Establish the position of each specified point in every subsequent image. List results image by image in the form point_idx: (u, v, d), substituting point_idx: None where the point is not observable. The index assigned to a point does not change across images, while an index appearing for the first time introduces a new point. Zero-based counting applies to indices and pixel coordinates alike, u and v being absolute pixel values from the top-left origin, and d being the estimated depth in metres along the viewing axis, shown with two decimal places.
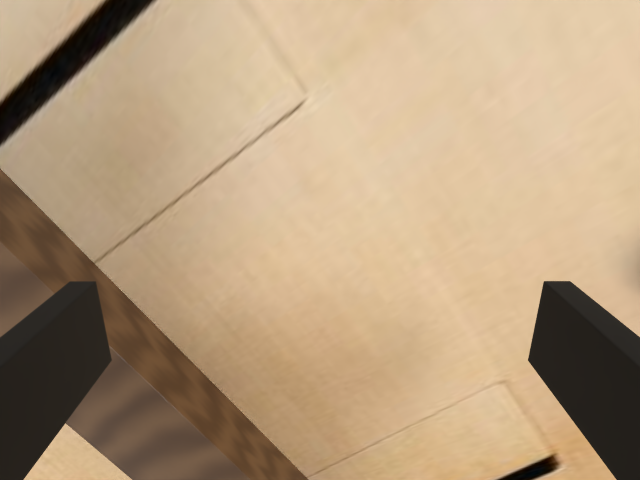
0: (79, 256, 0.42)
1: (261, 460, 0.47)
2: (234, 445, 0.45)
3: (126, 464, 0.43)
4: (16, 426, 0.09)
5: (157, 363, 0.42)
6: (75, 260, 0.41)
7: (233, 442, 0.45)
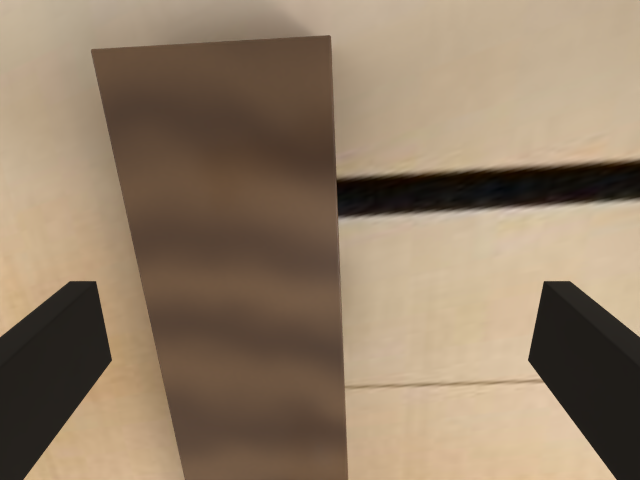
0: None
1: None
2: None
3: None
4: (16, 427, 0.09)
5: None
6: None
7: None
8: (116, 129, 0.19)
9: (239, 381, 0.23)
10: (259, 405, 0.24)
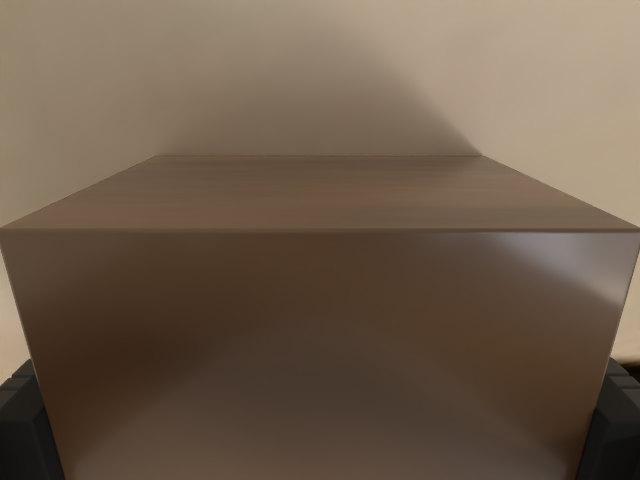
0: None
1: None
2: None
3: None
4: None
5: None
6: None
7: None
8: (61, 402, 0.08)
9: None
10: None
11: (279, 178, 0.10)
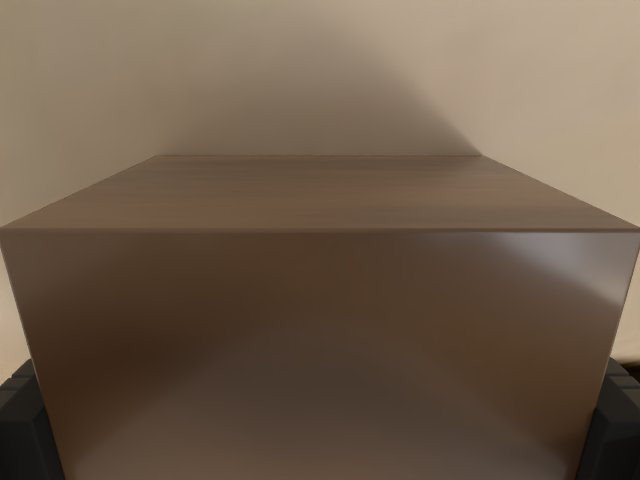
0: None
1: None
2: None
3: None
4: None
5: None
6: None
7: None
8: (62, 402, 0.08)
9: None
10: None
11: (279, 178, 0.10)
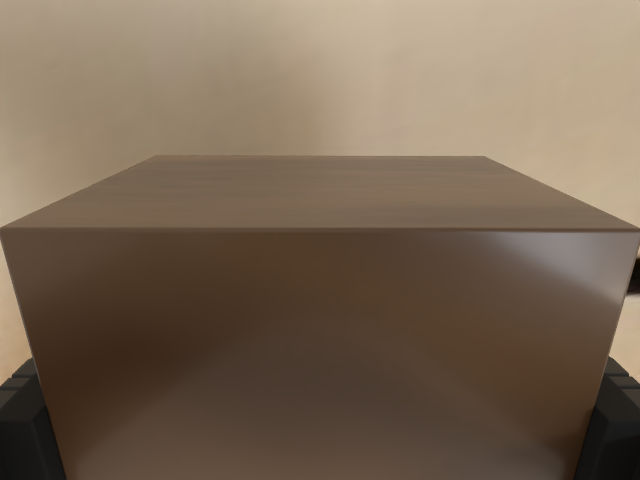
0: None
1: None
2: None
3: None
4: None
5: None
6: None
7: None
8: (62, 400, 0.08)
9: None
10: None
11: (280, 178, 0.10)
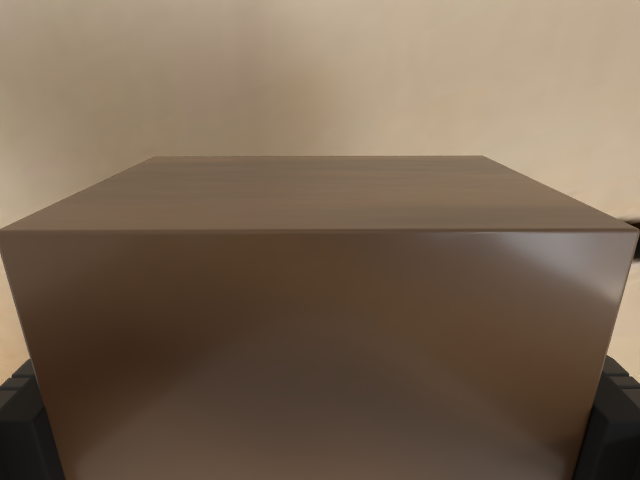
0: None
1: None
2: None
3: None
4: None
5: None
6: None
7: None
8: (61, 402, 0.08)
9: None
10: None
11: (277, 178, 0.10)
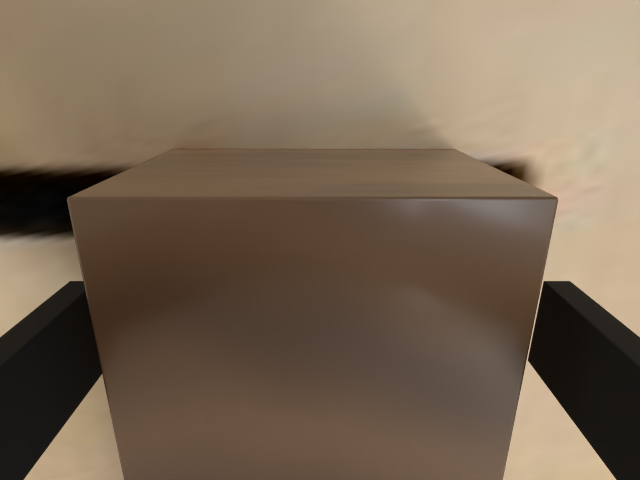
0: None
1: None
2: None
3: None
4: (16, 426, 0.09)
5: None
6: None
7: None
8: (110, 338, 0.10)
9: None
10: None
11: (280, 165, 0.12)
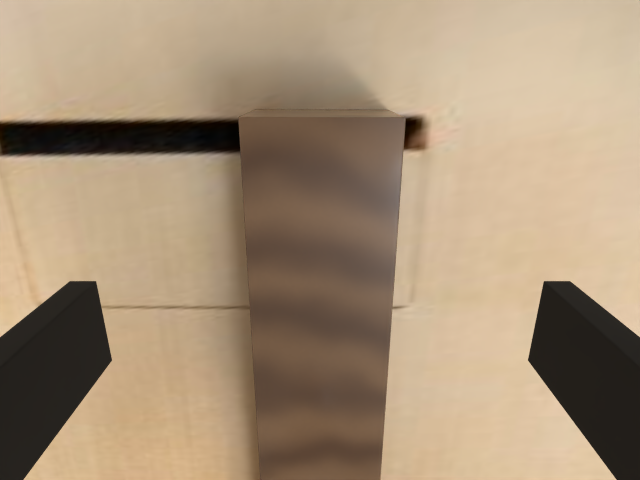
0: None
1: None
2: None
3: None
4: (16, 426, 0.09)
5: None
6: None
7: None
8: (247, 171, 0.26)
9: (310, 357, 0.31)
10: (323, 376, 0.31)
11: (307, 112, 0.28)
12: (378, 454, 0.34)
